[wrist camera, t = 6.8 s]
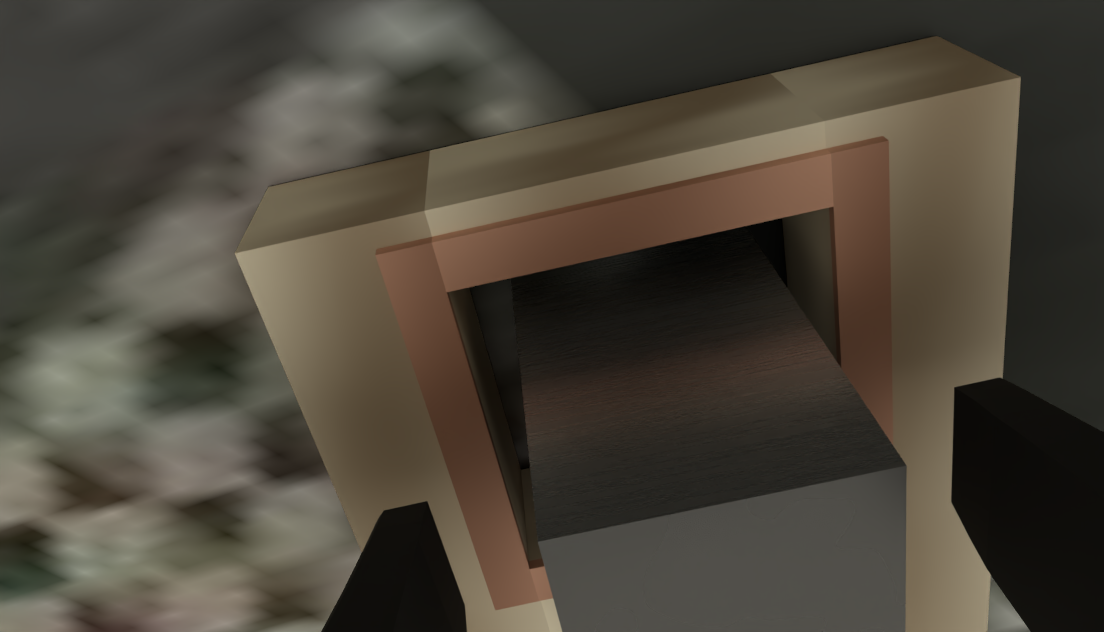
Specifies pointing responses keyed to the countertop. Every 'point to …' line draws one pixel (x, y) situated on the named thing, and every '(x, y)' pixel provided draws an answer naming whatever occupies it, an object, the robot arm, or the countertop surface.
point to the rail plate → (636, 223)
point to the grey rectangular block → (702, 451)
